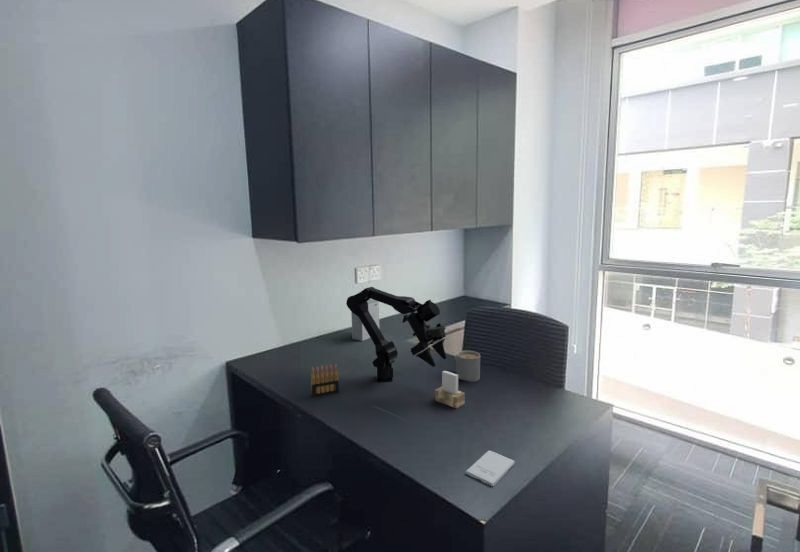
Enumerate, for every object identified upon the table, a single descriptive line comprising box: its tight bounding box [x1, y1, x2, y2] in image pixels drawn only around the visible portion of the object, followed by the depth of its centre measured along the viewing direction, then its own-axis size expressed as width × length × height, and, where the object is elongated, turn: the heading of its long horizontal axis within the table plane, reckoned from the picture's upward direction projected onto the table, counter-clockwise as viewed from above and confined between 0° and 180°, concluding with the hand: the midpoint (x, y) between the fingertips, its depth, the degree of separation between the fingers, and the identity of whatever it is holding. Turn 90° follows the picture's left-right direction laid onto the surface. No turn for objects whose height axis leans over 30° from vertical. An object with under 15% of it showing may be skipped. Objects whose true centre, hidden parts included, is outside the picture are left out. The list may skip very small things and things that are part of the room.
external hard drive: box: [465, 450, 516, 487], centre depth 111 cm, size 2×8×12 cm
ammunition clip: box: [310, 362, 340, 398], centre depth 156 cm, size 11×2×12 cm, turn 113°
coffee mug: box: [454, 350, 481, 383], centre depth 173 cm, size 13×10×10 cm
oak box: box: [434, 386, 466, 409], centre depth 149 cm, size 10×5×4 cm, turn 48°
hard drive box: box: [350, 298, 381, 342], centre depth 227 cm, size 16×8×20 cm, turn 144°
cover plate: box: [441, 370, 459, 395], centre depth 148 cm, size 6×2×11 cm, turn 48°
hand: (439, 362), depth 156 cm, fingers open, 9 cm apart
